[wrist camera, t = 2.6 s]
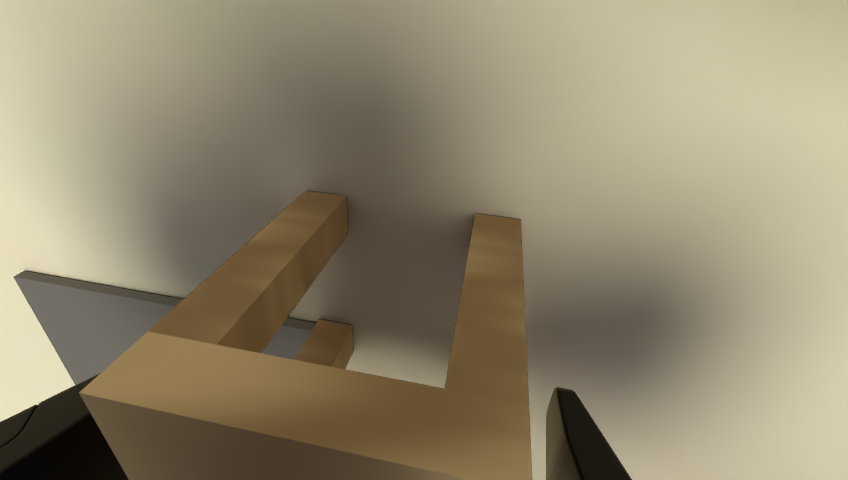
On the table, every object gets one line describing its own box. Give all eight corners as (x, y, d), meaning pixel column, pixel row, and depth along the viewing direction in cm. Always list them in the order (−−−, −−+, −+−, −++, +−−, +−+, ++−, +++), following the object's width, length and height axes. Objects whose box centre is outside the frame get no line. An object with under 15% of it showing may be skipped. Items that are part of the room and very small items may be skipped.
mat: (319, 323, 14) (314, 331, 14) (337, 504, 20) (334, 513, 20) (24, 270, 15) (13, 276, 15) (125, 453, 22) (118, 460, 21)
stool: (520, 219, 11) (533, 493, 5) (489, 375, 14) (472, 662, 8) (305, 190, 11) (78, 392, 5) (321, 344, 14) (187, 582, 8)
